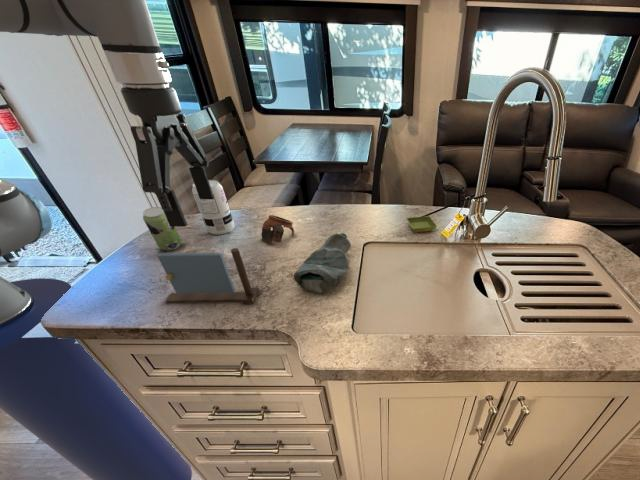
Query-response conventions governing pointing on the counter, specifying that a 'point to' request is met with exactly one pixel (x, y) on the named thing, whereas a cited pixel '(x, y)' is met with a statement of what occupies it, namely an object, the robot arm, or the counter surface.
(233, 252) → the brown l-shaped stand
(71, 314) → the counter surface
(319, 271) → the grey soft lump
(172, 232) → the beverage can
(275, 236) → the brown piece
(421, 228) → the green square dish
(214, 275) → the door
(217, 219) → the supplement can
